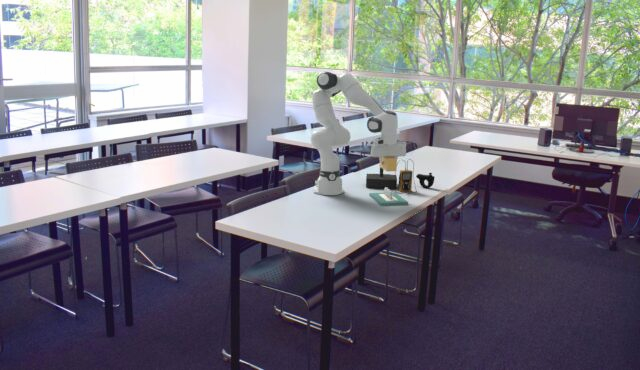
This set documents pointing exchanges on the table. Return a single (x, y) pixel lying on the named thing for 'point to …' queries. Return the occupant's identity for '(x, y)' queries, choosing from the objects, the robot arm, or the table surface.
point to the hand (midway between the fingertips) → (388, 164)
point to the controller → (425, 177)
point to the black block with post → (381, 180)
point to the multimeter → (405, 180)
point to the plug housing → (389, 163)
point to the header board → (388, 198)
